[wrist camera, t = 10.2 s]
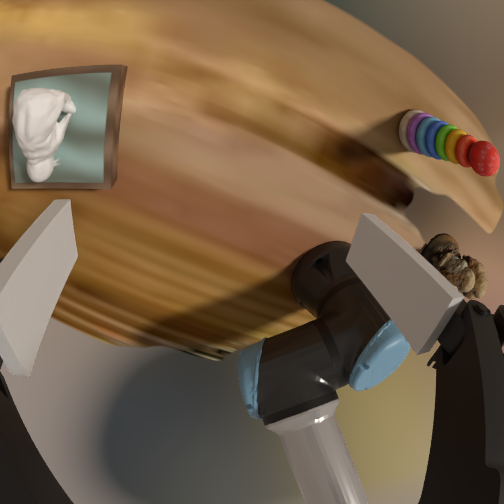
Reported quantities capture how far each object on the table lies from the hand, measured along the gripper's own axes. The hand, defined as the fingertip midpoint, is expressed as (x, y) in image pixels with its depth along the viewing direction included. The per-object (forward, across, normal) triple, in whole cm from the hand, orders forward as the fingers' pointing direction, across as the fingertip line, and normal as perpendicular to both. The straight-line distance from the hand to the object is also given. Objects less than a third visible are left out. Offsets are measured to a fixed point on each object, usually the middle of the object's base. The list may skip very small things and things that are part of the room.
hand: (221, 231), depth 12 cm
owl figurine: (+30, -58, +19) cm, 69 cm away
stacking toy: (+29, -36, -7) cm, 47 cm away
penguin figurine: (+24, +19, -1) cm, 31 cm away
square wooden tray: (+29, +19, -1) cm, 34 cm away
